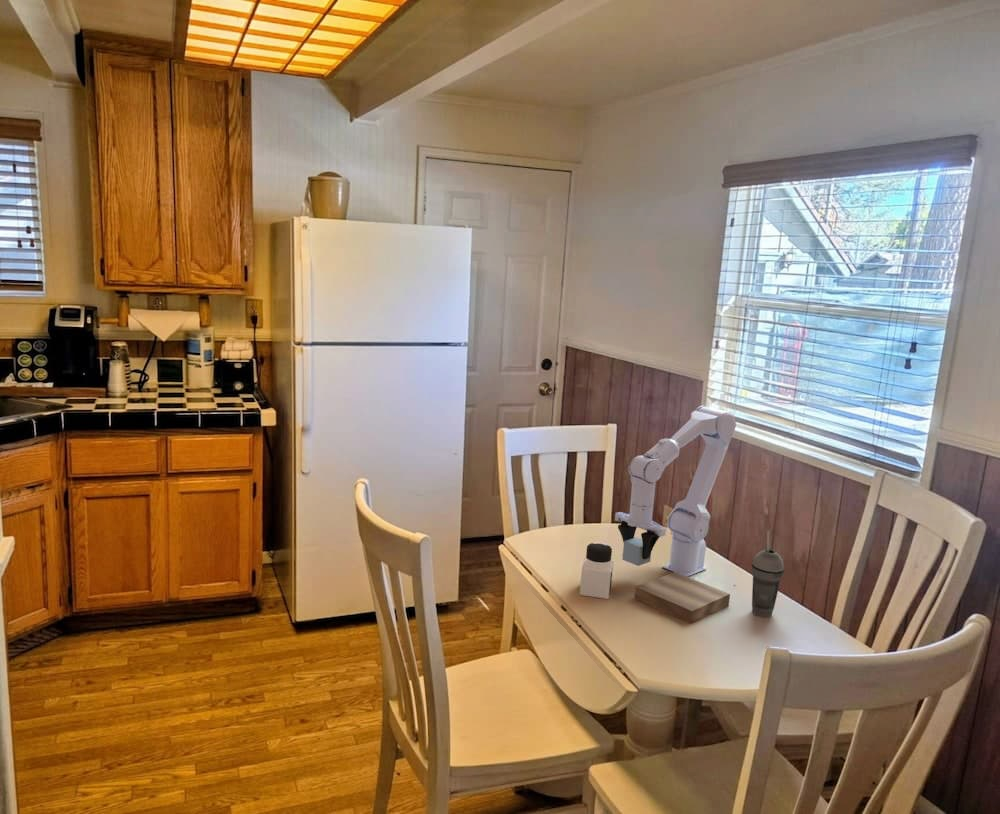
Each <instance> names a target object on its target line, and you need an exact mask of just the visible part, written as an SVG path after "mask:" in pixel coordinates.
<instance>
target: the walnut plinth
mask: <svg viewBox="0 0 1000 814" xmlns="http://www.w3.org/2000/svg"><path fill="white" fill-rule="evenodd" d="M730 598H731V594H730V593H729V592H727V591H723V590H720V589H719V588H716V587H713V586H711V585H709V584H706V583H704V582H700V581H698V580H696V579H694V578H691V577H690V576H688V577H686V576H683V575H681V574H678V573H676V572H673V571H672V572H671V573H668V574H665V575H663V576H660V577H657V578H654V579H652V580H650V581H647V582H644V583H641V584H638V585H636V586H635V587H634V599H635V600H637V601H640V602H642V603H644V604H646V605H648V606H650V607H653V608H655V609H657V610H659V611H662V612H664V613H666V614H668V615H671V616H673V617H676V618H678V619H679V620H682V621H684V622H687V623H689V624H693V623H694V622H696V621H699V620H701V619H703V618H706V617H707V616H709V615H712V614H715V612H718V611H720V610H722V609H725V608H727V607H729V606H730Z"/></svg>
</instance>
